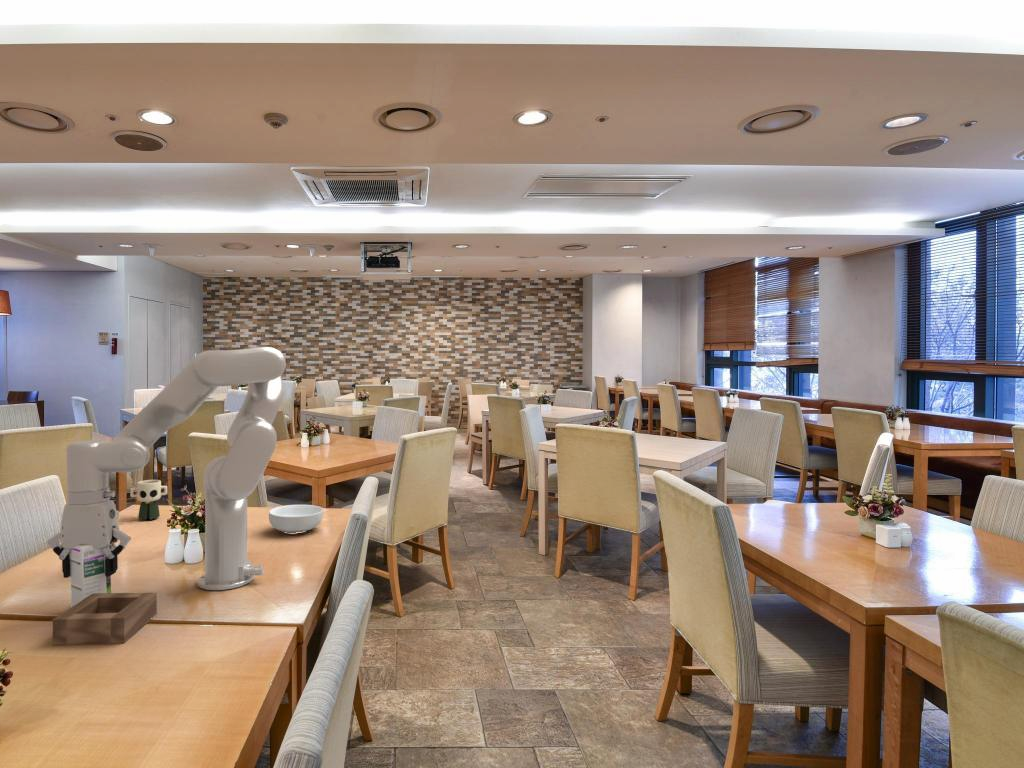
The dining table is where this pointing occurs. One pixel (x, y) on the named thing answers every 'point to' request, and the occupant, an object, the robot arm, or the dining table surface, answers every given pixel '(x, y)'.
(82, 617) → the socket
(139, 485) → the character mug
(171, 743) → the dining table surface
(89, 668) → the dining table surface
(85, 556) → the syrup box
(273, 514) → the cereal bowl
